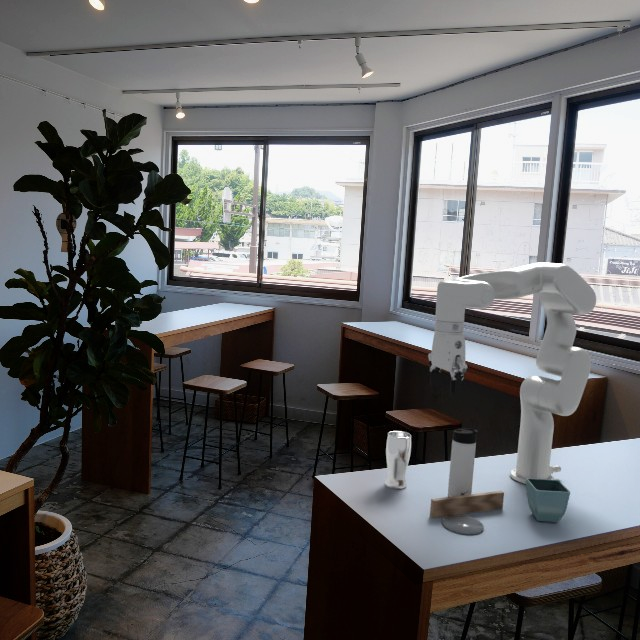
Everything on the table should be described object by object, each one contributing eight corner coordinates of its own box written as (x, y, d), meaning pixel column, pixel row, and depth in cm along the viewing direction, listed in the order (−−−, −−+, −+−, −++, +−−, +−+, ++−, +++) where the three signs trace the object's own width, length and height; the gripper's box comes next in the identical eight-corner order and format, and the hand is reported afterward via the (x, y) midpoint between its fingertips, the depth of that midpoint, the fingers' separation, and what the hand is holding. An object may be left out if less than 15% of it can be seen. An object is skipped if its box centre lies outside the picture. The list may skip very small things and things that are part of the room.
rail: (499, 506, 168) (501, 490, 167) (502, 508, 167) (504, 492, 166) (429, 516, 159) (431, 499, 159) (432, 518, 158) (433, 500, 158)
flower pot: (522, 509, 167) (525, 477, 166) (555, 512, 167) (559, 479, 166) (532, 524, 158) (535, 490, 157) (567, 526, 158) (571, 492, 157)
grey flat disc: (467, 515, 161) (467, 513, 161) (492, 532, 152) (492, 530, 152) (434, 519, 157) (434, 517, 157) (457, 537, 148) (458, 535, 148)
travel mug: (467, 506, 167) (474, 433, 164) (444, 500, 170) (450, 428, 168) (475, 499, 172) (481, 428, 170) (452, 493, 175) (458, 423, 173)
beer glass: (379, 486, 178) (383, 434, 176) (388, 478, 184) (392, 429, 182) (403, 491, 174) (407, 439, 173) (411, 484, 181) (415, 433, 179)
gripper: (480, 331, 160) (475, 397, 162) (443, 322, 176) (439, 382, 178) (455, 332, 157) (450, 398, 159) (420, 323, 173) (416, 383, 175)
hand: (444, 390), depth 169 cm, fingers open, 9 cm apart
